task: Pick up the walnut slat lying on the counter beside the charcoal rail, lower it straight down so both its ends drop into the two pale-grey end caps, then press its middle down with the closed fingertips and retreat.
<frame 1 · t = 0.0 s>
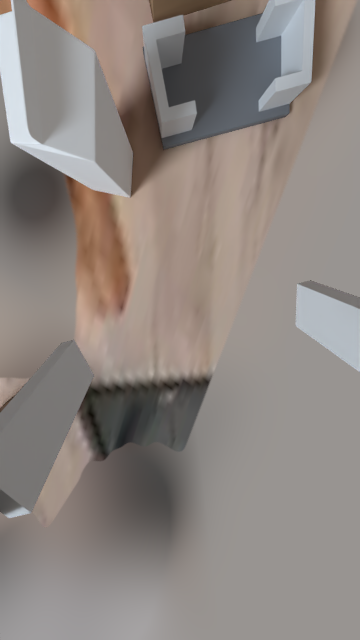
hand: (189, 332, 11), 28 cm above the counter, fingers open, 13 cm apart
endcap rail: (219, 87, 27), on the counter
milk: (112, 172, 30), on the counter
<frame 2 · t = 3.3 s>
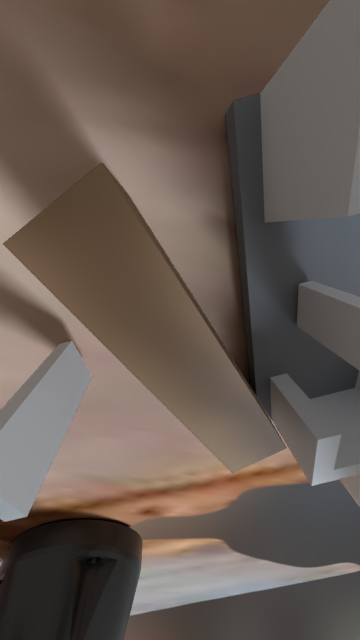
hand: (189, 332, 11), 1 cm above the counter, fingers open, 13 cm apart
endcap rail: (319, 293, 12), on the counter
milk: (359, 438, 20), on the counter
slat: (180, 327, 13), on the counter
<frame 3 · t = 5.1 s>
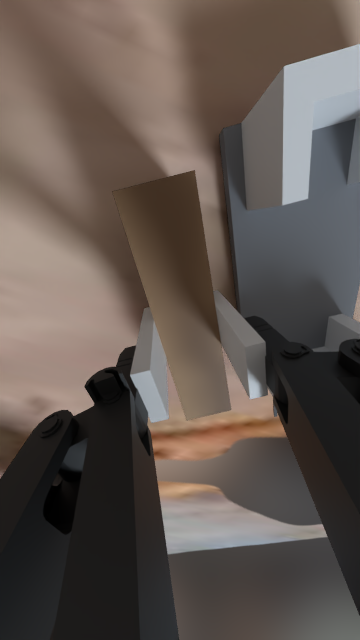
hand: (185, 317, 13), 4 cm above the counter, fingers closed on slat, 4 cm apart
endcap rail: (293, 266, 16), on the counter
slat: (180, 302, 16), point 1 cm above the counter, touching gripper
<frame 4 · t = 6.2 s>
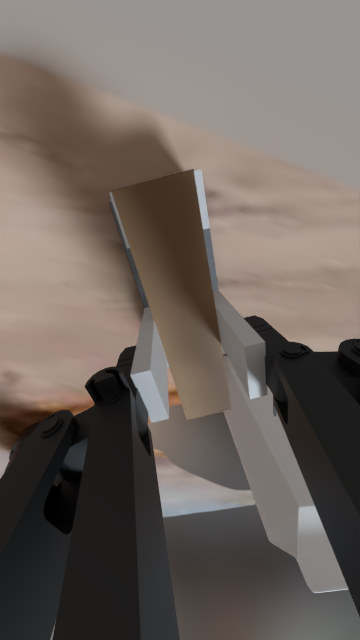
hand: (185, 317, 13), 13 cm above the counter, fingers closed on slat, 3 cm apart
endcap rail: (176, 277, 25), on the counter
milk: (234, 370, 33), on the counter
slat: (180, 301, 16), point 10 cm above the counter, touching gripper
when the fingers open (3 cm above the counter, at t = 7.4 s): slat stays where it is, resting on endcap rail.
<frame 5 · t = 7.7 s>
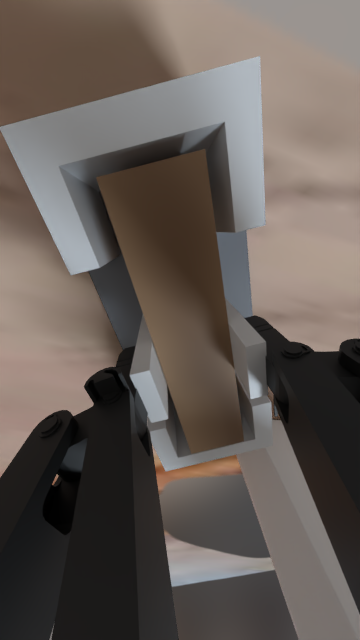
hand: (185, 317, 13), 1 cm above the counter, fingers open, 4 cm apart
endcap rail: (181, 311, 15), on the counter
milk: (265, 435, 23), on the counter
slat: (184, 314, 14), point 1 cm above the counter, touching endcap rail, gripper
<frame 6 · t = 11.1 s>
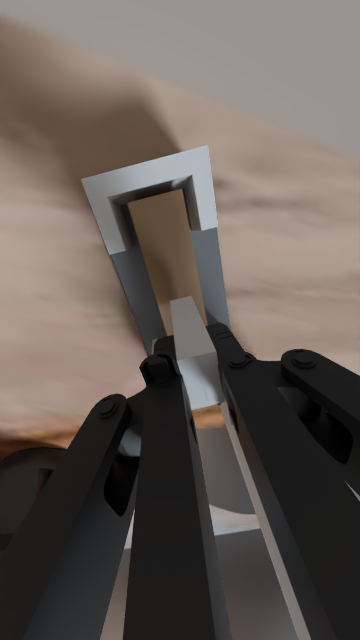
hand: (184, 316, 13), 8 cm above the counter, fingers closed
endcap rail: (175, 287, 21), on the counter
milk: (243, 391, 29), on the counter
slat: (176, 288, 20), point 1 cm above the counter, touching endcap rail
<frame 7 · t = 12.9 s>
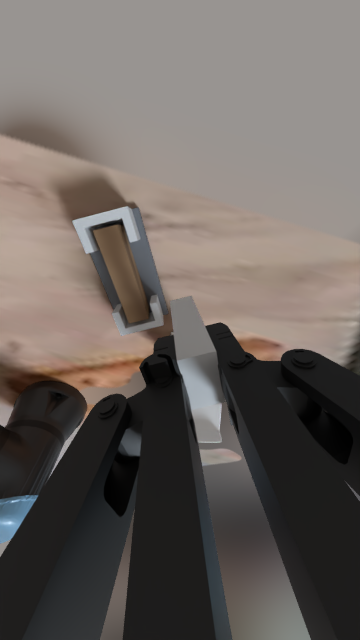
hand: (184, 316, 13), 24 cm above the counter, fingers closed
endcap rail: (129, 272, 36), on the counter
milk: (181, 344, 44), on the counter
slat: (128, 272, 35), point 1 cm above the counter, touching endcap rail
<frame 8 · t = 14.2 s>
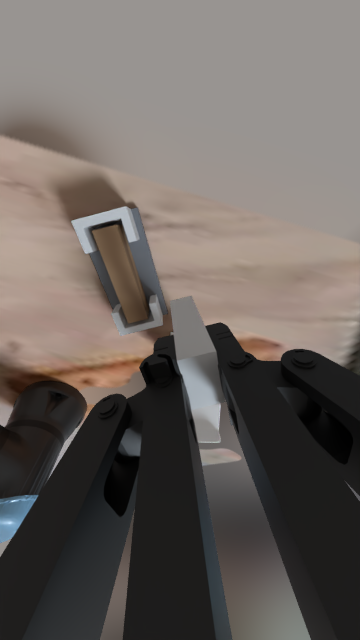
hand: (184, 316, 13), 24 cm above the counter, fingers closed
endcap rail: (128, 272, 36), on the counter
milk: (181, 344, 44), on the counter
slat: (127, 272, 35), point 1 cm above the counter, touching endcap rail
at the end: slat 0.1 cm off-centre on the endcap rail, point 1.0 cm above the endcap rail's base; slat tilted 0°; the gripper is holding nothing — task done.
